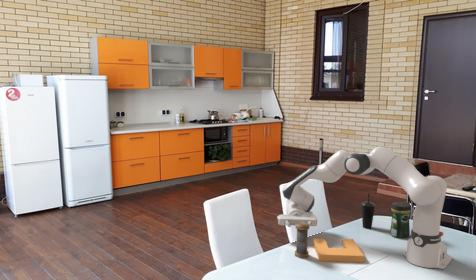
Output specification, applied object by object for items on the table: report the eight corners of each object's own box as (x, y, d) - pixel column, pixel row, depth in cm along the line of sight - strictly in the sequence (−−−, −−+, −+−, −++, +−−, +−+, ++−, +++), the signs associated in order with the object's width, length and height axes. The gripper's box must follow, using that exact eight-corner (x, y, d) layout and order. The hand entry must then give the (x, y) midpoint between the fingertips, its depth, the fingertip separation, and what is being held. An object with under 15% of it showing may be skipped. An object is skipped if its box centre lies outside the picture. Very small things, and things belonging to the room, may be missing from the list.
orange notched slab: (313, 243, 197) (313, 238, 196) (352, 244, 196) (353, 239, 196) (319, 260, 177) (319, 254, 177) (363, 262, 176) (364, 255, 176)
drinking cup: (376, 227, 221) (378, 193, 219) (370, 230, 216) (372, 195, 213) (363, 224, 227) (365, 190, 224) (357, 227, 221) (359, 193, 219)
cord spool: (301, 251, 188) (302, 221, 186) (311, 255, 183) (312, 225, 181) (291, 254, 184) (292, 224, 182) (301, 259, 179) (302, 227, 177)
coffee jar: (402, 232, 214) (404, 199, 212) (412, 237, 206) (414, 203, 204) (387, 233, 211) (388, 200, 209) (396, 239, 204) (398, 204, 201)
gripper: (276, 210, 208) (278, 219, 194) (315, 211, 207) (319, 220, 193) (276, 221, 209) (277, 231, 195) (314, 222, 208) (318, 232, 194)
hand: (298, 225), depth 194 cm, fingers open, 8 cm apart
